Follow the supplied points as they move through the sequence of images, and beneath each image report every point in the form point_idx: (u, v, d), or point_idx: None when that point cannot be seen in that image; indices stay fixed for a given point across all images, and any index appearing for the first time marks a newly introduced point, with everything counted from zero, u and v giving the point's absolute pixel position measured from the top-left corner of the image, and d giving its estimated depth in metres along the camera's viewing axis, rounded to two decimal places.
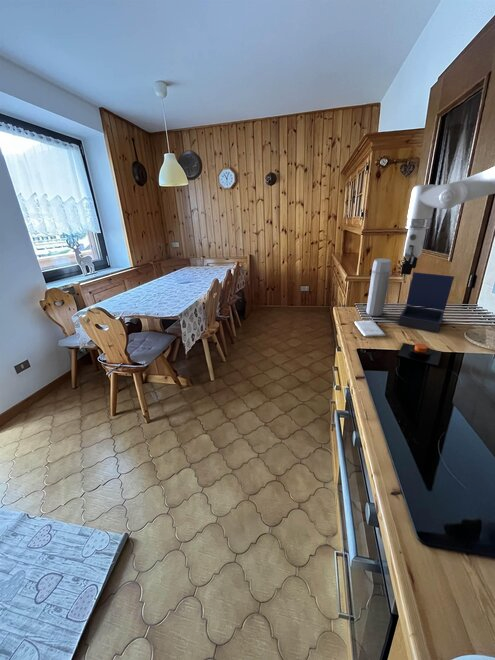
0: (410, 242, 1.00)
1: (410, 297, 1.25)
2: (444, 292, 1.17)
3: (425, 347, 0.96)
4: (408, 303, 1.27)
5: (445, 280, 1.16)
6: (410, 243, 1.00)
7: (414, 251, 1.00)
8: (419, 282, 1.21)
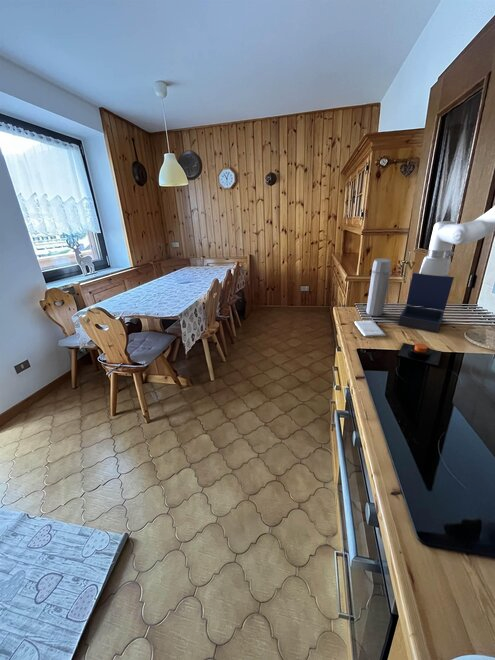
0: None
1: (410, 297, 1.25)
2: (444, 293, 1.17)
3: (425, 347, 0.96)
4: (408, 303, 1.27)
5: (445, 281, 1.15)
6: (448, 273, 1.15)
7: None
8: (419, 283, 1.21)
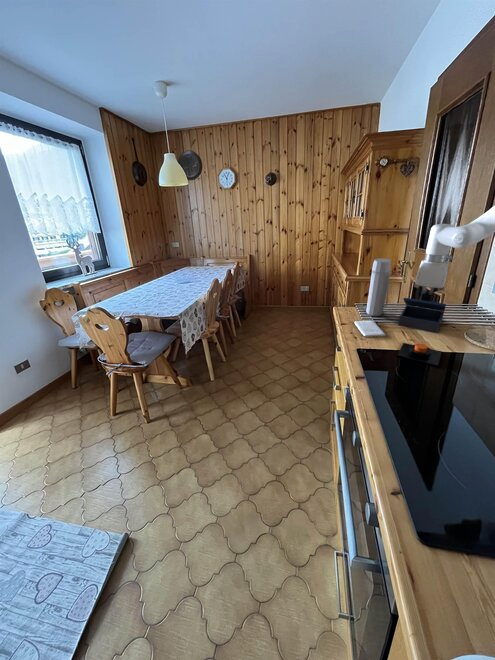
0: None
1: (408, 304, 1.24)
2: (439, 307, 1.14)
3: (425, 347, 0.96)
4: None
5: (437, 305, 1.10)
6: (446, 278, 1.10)
7: None
8: (412, 302, 1.17)
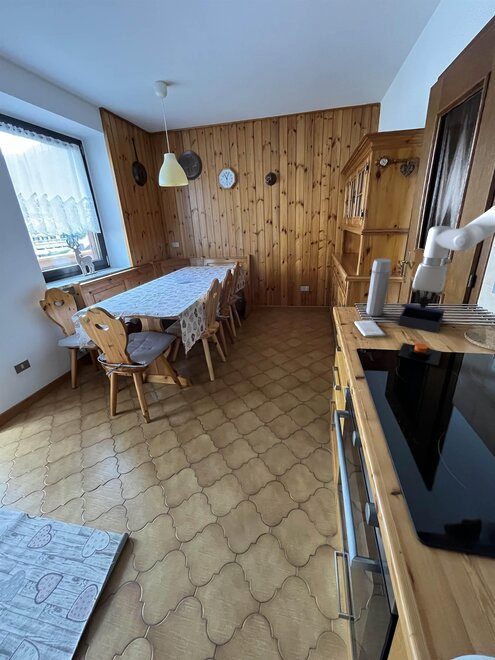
0: (445, 278, 1.05)
1: None
2: None
3: (425, 347, 0.96)
4: None
5: None
6: (444, 282, 1.06)
7: None
8: None
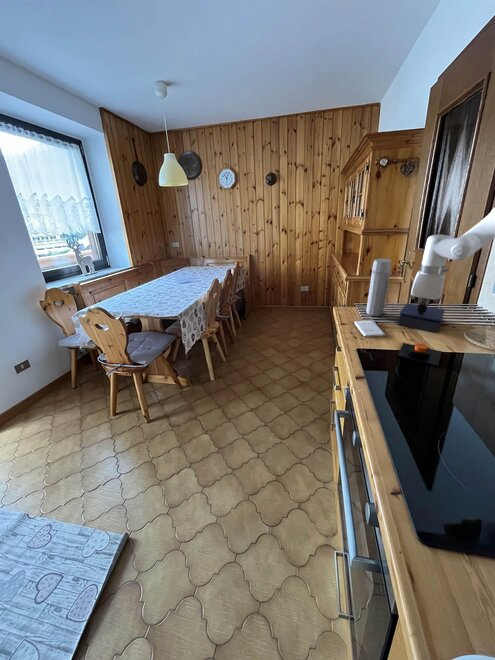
0: (443, 285, 1.07)
1: None
2: None
3: (425, 347, 0.96)
4: None
5: None
6: (442, 290, 1.07)
7: None
8: None
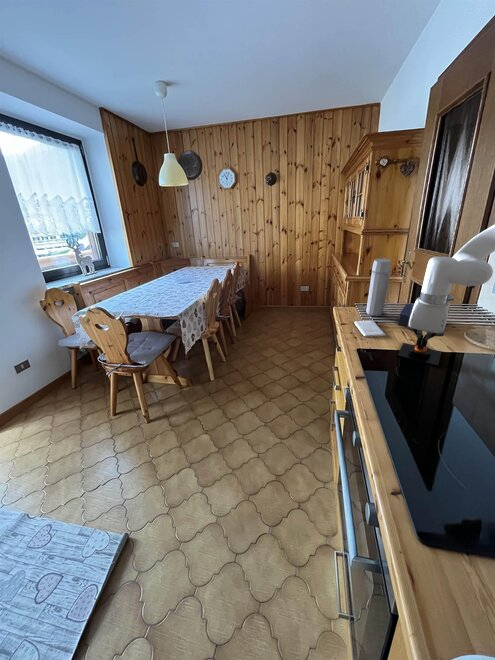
0: (447, 317, 0.88)
1: None
2: None
3: (425, 349, 0.96)
4: None
5: None
6: None
7: None
8: None
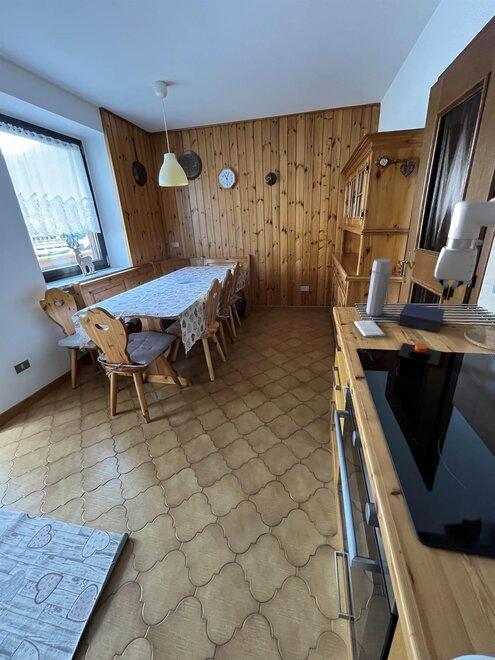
0: (475, 263, 0.87)
1: None
2: None
3: (425, 347, 0.96)
4: None
5: None
6: None
7: None
8: None
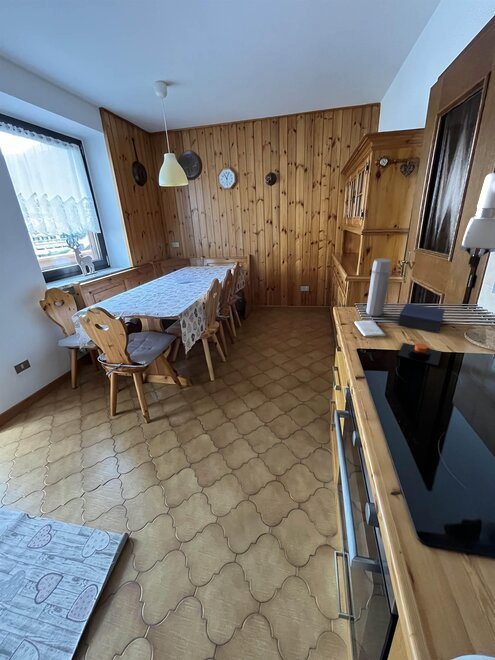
0: None
1: None
2: None
3: (425, 347, 0.96)
4: None
5: None
6: None
7: None
8: None
